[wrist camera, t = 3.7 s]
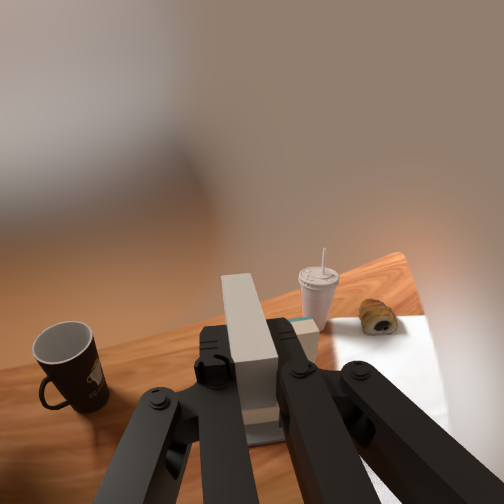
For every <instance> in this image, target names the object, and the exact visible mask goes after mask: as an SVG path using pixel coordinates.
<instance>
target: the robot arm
mask: <svg viewBox="0 0 504 504" xmlns="http://www.w3.org/2000/svg"><path fill="white" fill-rule="evenodd" d="M221 278H222V290H223V301H224V311H225V321H226V325H217V326H206V327H204V328H203V329H202V331H201V333H200V357H199V358H198V359H197V360H196V361H195V365H194V370H195V374H196V379H197V382H196V383H195V384H194V385H193V386H192V387H190V388H188V389H186V390H183V391H180V392H176V393H175V392H174V391H173V390H171V389H169V388H166V387H156V388H152V389H150V390H148V391H147V392H145V393H144V394H143V395H142V397H141V398H140V400H139V402H138V404H137V406H136V408H135V411H134V413H133V415H132V417H131V419H130V421H129V423H128V425H127V427H126V429H125V432H124V434H123V436H122V438H121V440H120V442H119V444H118V447H117V449H116V451H115V453H114V455H113V458H112V460H111V462H110V464H109V466H108V469H107V471H106V473H105V475H104V478H103V480H102V482H101V484H100V487H99V489H98V491H97V494H96V496H95V498H94V501H93V503H92V504H176V500H177V497H178V493H179V490H180V486H181V482H182V479H183V475H184V471H185V468H186V464H187V461H188V457H189V453H190V450H191V446H192V443H193V442H196V441H200V460H201V475H202V489H203V501H204V504H259V500H258V495H257V490H256V485H255V480H254V475H253V470H252V465H251V460H250V454H249V449H248V444H247V438H246V433H245V427H244V421H243V415H242V411H248V410H256V409H263V408H270V407H276V406H277V402H278V405H279V428H281V427H282V429H283V432H284V436H285V439H286V443H287V446H288V450H289V453H290V457H291V460H292V464H293V467H294V470H295V474H296V477H297V481H298V484H299V487H300V491H301V494H302V497H303V501H304V504H381V502H380V500H379V497H378V495H377V493H376V491H375V489H374V486H373V484H372V482H371V480H370V478H369V476H368V473H367V471H366V469H365V467H364V465H363V463H362V460H361V458H360V456H361V457H362V459H363V460H364V461H365V462H366V463H367V464H368V466H369V467H370V468H371V469H372V470H373V471H374V473H375V474H376V475H377V476H378V477H379V478H380V479H381V481H382V482H383V483H384V484H385V485H386V486H387V487H388V488H389V490H390V491H391V492H392V493H393V494H394V495H395V496H396V497H397V498H398V499H399V501H400V502H401V503H402V504H504V483H503V482H502V481H501V480H500V479H499V478H498V477H497V476H495V475H494V474H493V473H492V472H491V471H490V470H489V469H488V468H486V467H485V466H484V465H483V464H482V463H481V462H480V461H479V460H477V459H476V458H475V457H474V456H473V455H472V454H471V453H469V452H468V451H467V450H466V449H465V448H464V447H463V446H462V445H461V444H459V443H458V442H457V441H456V440H455V439H454V438H453V437H452V436H450V435H449V434H448V433H447V432H446V431H445V430H444V429H443V428H441V427H440V426H439V425H438V424H437V423H436V422H435V421H434V420H433V419H431V418H430V417H429V416H428V415H427V414H426V413H425V412H424V411H422V410H421V409H420V408H419V407H418V406H417V405H416V404H415V403H414V402H412V401H411V400H410V399H409V398H408V397H407V396H406V395H405V394H403V393H402V392H401V391H400V390H399V389H398V388H397V387H396V386H395V385H393V384H392V383H391V382H390V381H389V380H388V379H387V378H386V377H385V376H383V375H382V374H381V373H380V372H379V371H378V370H377V369H376V368H375V367H373V366H372V365H371V364H369V363H367V362H363V361H352V362H348V363H347V364H345V365H344V366H343V368H342V370H341V371H331V370H323V369H319V368H318V367H317V366H316V365H315V364H314V363H313V362H311V361H309V360H308V358H307V356H306V354H305V352H304V350H303V348H302V345H301V343H300V341H299V339H298V337H297V334H296V332H295V330H294V328H293V326H292V324H291V323H290V322H289V321H288V320H287V319H285V318H284V317H283V318H275V319H267V320H266V319H265V316H264V313H263V310H262V307H261V304H260V301H259V298H258V296H257V293H256V290H255V287H254V284H253V280H252V277H251V274H250V273H247V274H236V275H225V276H221ZM359 455H360V456H359Z"/></svg>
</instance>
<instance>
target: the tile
mask: <svg viewBox="0 0 504 504" xmlns="http://www.w3.org/2000/svg"><path fill="white" fill-rule="evenodd" d="M287 320H288V321H289V322H290V323H291V324H292V326H293V328H294V330H295V332H296V334H297V337H298V339H299V341H300V343H301V345H302V348H303V350H304V352H305V354H306V356H307V358H308V360H309V361H311V362H313V363H314V364H315V361H316V354H317V347H318V340H319V333H320V331H319V329H318V327H317V326H316V324H315V322H314V320H313V319H312V317H311V316H309V317H301V318H294V319H287ZM242 415H243V421H244V425H249V424H257V423H264V422H271V421H277V420H279V405H278V402H277V406H276V407H270V408H263V409H256V410H248V411H242Z"/></svg>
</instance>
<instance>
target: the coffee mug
mask: <svg viewBox="0 0 504 504" xmlns="http://www.w3.org/2000/svg"><path fill="white" fill-rule="evenodd" d="M32 353H33V355H34V357H35V359H36V360H37V362H38V363H39V364H40V366H41V367H42V369H43V370H44V372H45V373H46V374H47V377H46V378H44V379H43V380H42V382H41V385H40V388H39V398H40V401H41V403H42V405H43V406H44V407H45V408H47V409H50V410H59V409H61V408H63V407H66V406H68V405H71V406H72V408H73V409H74V410H76V411H78V412H81V413H92V412H95V411H98V410H99V409H101V408H102V407H103V406H104V405H105V404H106V403H107V401H108V398H109V390H108V387H107V384H106V381H105V377H104V374H103V371H102V367H101V364H100V360H99V357H98V353H97V349H96V345H95V341H94V337H93V333H92V330H91V328H90V327H89V326H88V325H86V324H85V323H82V322H79V321H66V322H61V323H58V324H55V325H53V326H51V327H49V328H47V329H46V330H44V331H43V332H42V333H40V335H39V336H38V337H37V338H36V339H35V341H34V343H33V347H32ZM50 381H52V383H53V384H54V385H55V387H56V388H57V389H58V390H59V392H60V393H61V394H62V395H63V397H64V398H65V399H66V400H67V401H64V402H62V403H60V404H58V405H55V406H49V405H48V404H47V403H46V401H45V398H44V390H45V386H46V385H47V383H48V382H50Z"/></svg>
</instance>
